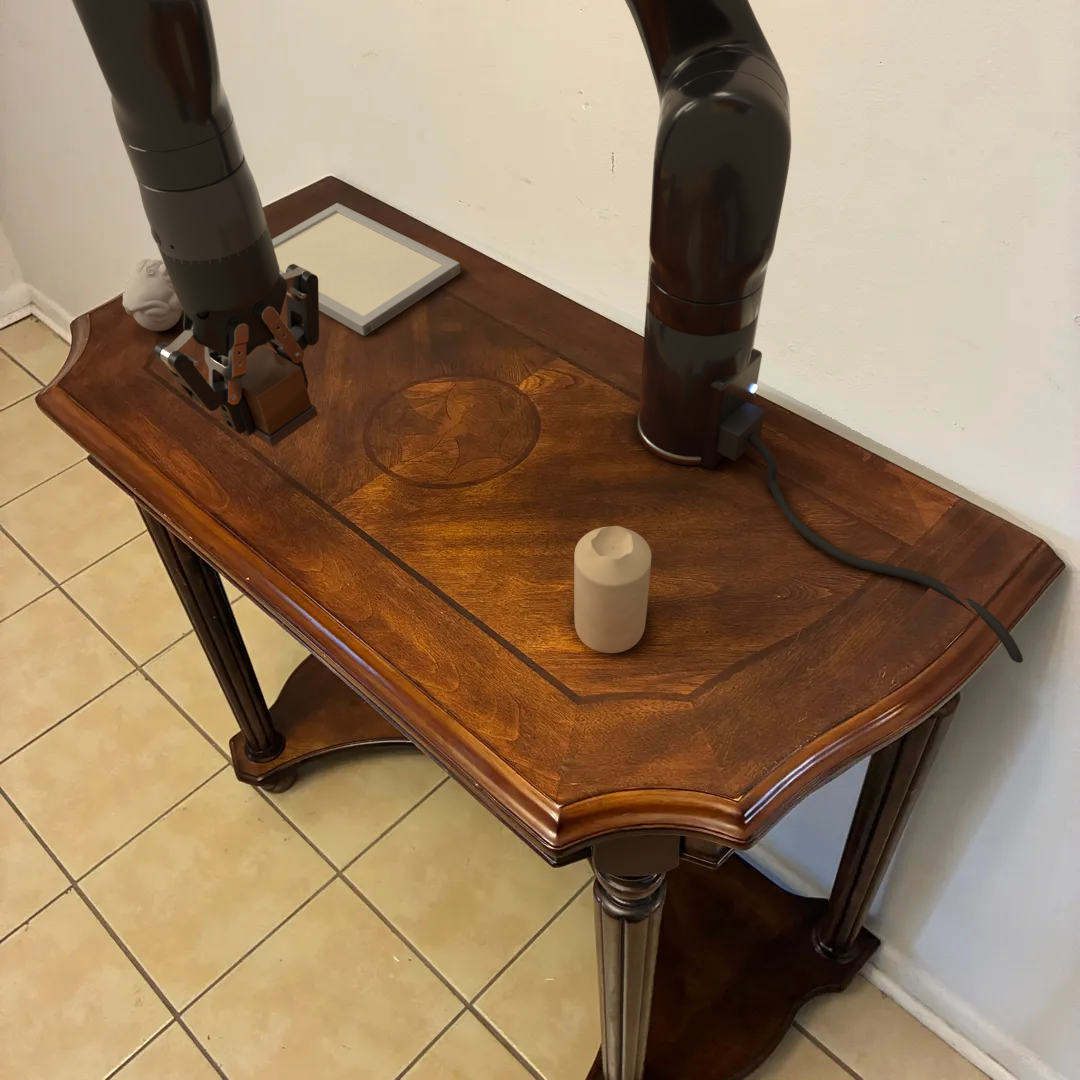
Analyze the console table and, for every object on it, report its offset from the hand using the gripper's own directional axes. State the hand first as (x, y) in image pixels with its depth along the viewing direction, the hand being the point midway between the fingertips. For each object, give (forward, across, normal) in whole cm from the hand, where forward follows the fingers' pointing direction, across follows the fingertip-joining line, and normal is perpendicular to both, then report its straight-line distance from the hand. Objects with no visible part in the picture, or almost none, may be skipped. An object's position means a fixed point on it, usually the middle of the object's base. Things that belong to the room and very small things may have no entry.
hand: (270, 411), depth 81 cm
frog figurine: (+9, +7, +30) cm, 32 cm away
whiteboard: (+9, +26, +21) cm, 35 cm away
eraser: (0, 0, 0) cm, 0 cm away
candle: (+10, +6, -30) cm, 33 cm away
